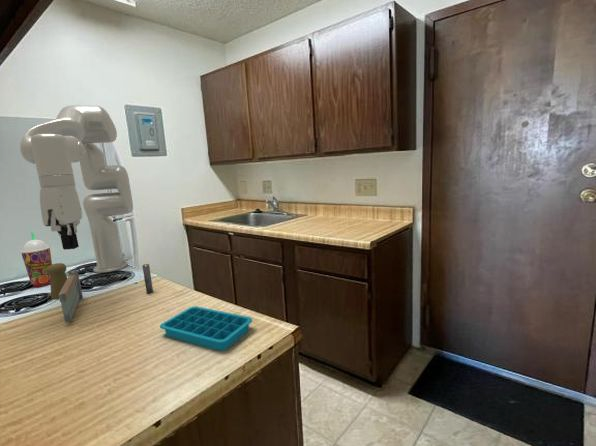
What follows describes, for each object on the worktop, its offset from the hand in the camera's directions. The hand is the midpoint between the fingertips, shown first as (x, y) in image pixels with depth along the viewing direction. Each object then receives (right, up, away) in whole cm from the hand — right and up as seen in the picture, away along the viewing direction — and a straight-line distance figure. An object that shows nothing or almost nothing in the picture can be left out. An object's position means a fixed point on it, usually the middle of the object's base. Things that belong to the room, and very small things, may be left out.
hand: (71, 248), depth 88 cm
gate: (-3, -18, +4) cm, 19 cm away
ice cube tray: (+41, -20, -11) cm, 47 cm away
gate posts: (+3, -17, +15) cm, 23 cm away
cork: (-16, -18, +19) cm, 30 cm away
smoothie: (-33, -16, +31) cm, 48 cm away
